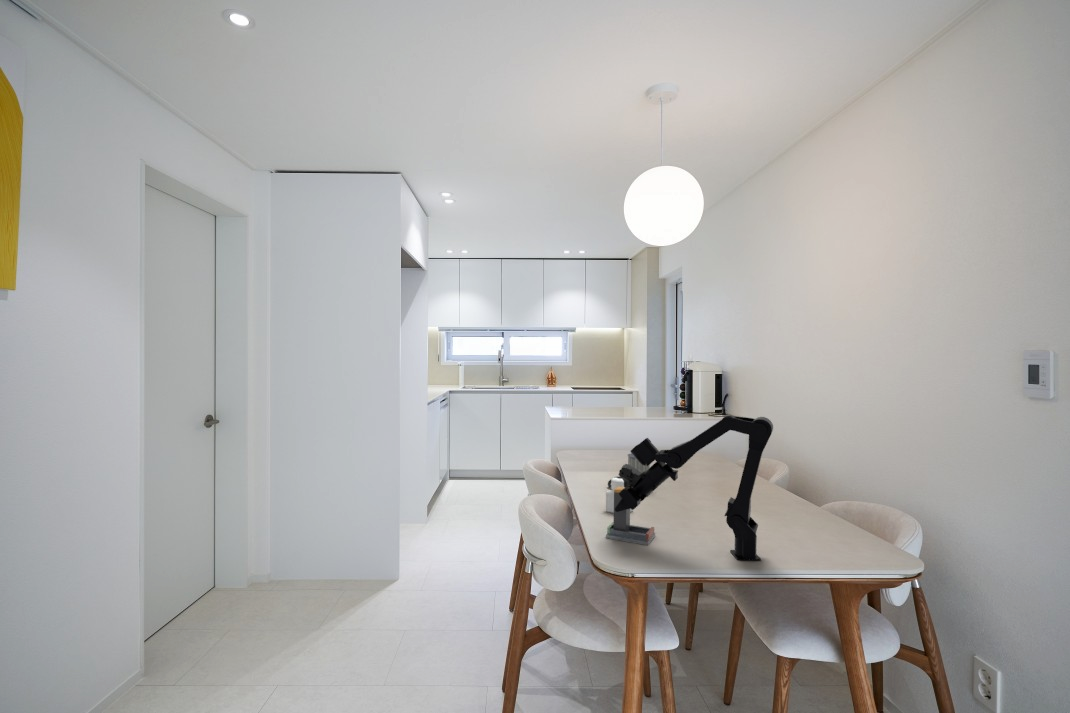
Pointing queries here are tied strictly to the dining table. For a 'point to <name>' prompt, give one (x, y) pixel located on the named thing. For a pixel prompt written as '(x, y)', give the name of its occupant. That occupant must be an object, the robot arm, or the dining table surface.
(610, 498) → the medicine bottle
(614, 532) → the grey rectangular tray
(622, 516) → the block
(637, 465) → the milk frother
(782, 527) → the dining table surface
